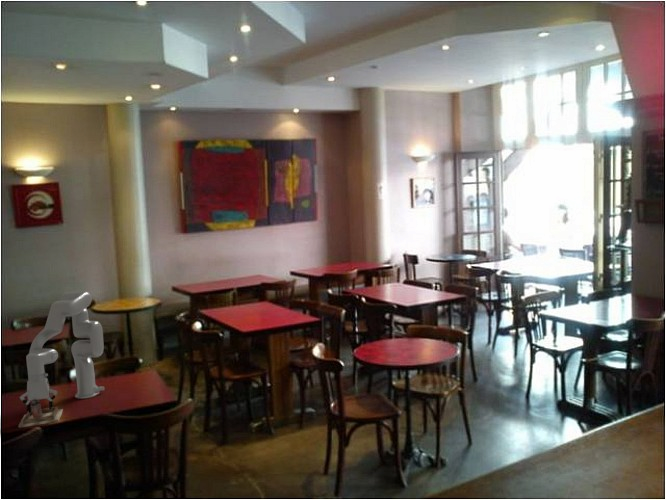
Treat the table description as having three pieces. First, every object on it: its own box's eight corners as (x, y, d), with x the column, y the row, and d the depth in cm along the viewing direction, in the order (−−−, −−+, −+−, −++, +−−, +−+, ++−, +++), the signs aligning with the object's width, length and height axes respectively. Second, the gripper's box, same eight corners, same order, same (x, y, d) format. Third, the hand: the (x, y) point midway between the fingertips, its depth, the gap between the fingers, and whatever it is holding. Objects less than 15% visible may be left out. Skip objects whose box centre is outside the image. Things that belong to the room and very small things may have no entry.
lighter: (38, 420, 302) (35, 400, 301) (31, 421, 302) (28, 402, 301) (44, 414, 310) (40, 395, 309) (37, 415, 310) (33, 397, 309)
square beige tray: (62, 411, 318) (62, 405, 318) (58, 421, 303) (57, 415, 302) (25, 416, 313) (24, 410, 313) (18, 427, 298) (18, 421, 297)
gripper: (56, 372, 312) (60, 405, 313) (19, 377, 307) (23, 410, 308) (54, 376, 305) (57, 409, 306) (16, 381, 300) (20, 415, 301)
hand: (40, 410), depth 307 cm, fingers open, 9 cm apart
